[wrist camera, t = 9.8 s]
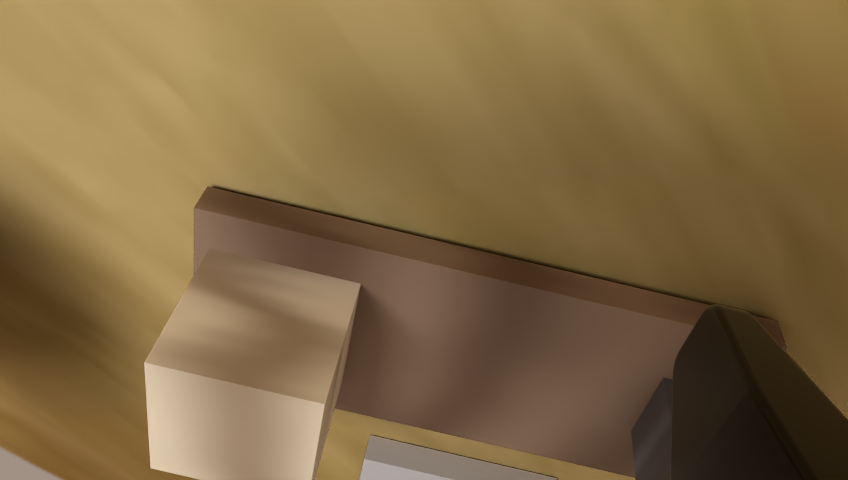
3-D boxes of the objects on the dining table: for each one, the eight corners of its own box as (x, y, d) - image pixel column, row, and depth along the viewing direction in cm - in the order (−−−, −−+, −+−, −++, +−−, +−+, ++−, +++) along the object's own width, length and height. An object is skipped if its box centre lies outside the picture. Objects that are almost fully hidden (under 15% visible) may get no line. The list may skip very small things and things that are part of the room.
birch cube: (207, 351, 27) (150, 468, 24) (209, 248, 24) (144, 362, 20) (341, 382, 28) (307, 504, 24) (360, 283, 24) (324, 404, 21)
